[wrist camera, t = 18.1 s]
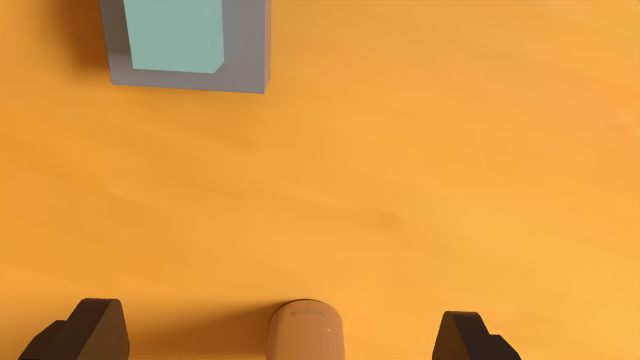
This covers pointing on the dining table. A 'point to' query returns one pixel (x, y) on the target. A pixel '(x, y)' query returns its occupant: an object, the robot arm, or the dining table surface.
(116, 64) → the socket
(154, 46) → the plug
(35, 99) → the dining table surface
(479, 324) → the robot arm
